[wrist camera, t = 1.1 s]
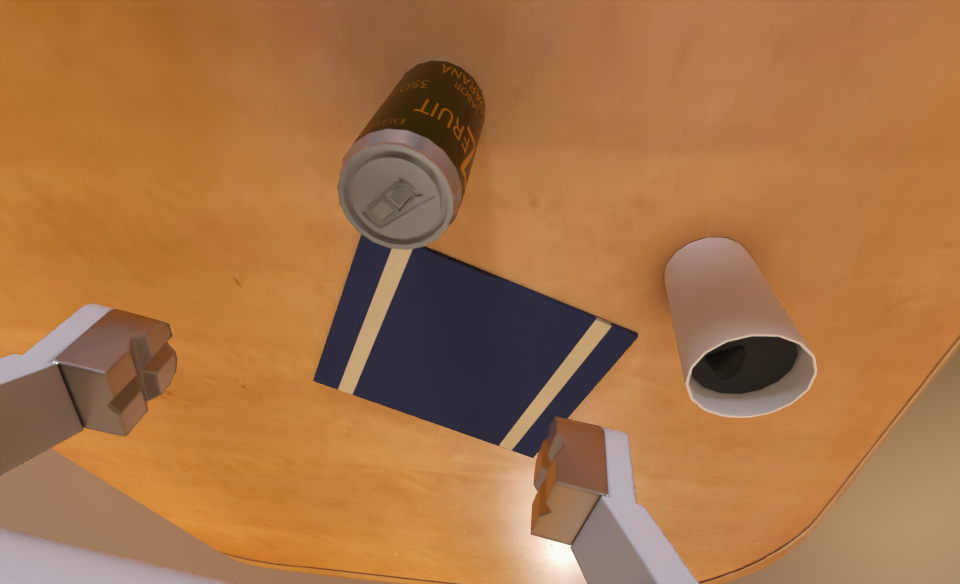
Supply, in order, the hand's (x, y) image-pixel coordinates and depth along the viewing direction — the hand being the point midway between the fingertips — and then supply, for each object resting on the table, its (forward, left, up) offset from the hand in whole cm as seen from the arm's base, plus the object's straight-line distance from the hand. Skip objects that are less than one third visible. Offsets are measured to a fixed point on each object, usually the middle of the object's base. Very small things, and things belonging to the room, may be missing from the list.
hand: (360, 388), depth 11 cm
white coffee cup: (+20, -6, -24) cm, 32 cm away
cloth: (+8, -22, -24) cm, 33 cm away
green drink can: (-1, -3, -24) cm, 25 cm away
